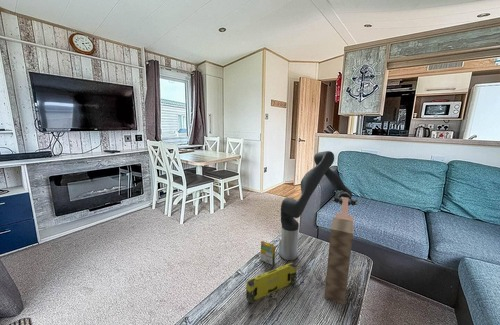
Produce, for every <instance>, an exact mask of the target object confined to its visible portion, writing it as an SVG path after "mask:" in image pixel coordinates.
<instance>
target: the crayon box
mask: <svg viewBox="0 0 500 325" xmlns="http://www.w3.org/2000/svg"><path fill="white" fill-rule="evenodd" d="M259 259H260V261H262V262H265V263H267V264H270V265H271V266H273V264H274V263H275V261H276V245H275V244H274V243H273V244H272V243H270V242H267V241H263V240H260V258H259Z"/></svg>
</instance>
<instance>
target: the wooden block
mask: <svg viewBox="0 0 500 325" xmlns="http://www.w3.org/2000/svg"><path fill="white" fill-rule="evenodd" d="M329 233H330V234H329V245H328V255H327V266H326V274H325V275H326V276H325V277H326V278H325V287H324V295H323V296H324V298H323V299H327V300H329V301H331V302H335V303H338V304H341V305H344V306H345V305H346V296H347V290H348V289H347V288H348V279H349V272H350V271H349V270H350V260H351V255H352V254H351V252H352V244H353V239H352V237H353V238H354V220H353V221H350V220H345V219H340V218H336V217H332V221H331V227H330V232H329Z"/></svg>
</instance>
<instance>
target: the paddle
mask: <svg viewBox="0 0 500 325" xmlns="http://www.w3.org/2000/svg"><path fill="white" fill-rule="evenodd" d="M340 210H341V211H340V212H341V213H337V212H336V213H335V218H340V219H345V220H350V221H353V222H354V216H353V215H349V206H348V198H346V197H342V205H341V209H340ZM353 238H354V236H353V237H352V240H353Z"/></svg>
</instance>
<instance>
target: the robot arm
mask: <svg viewBox="0 0 500 325" xmlns="http://www.w3.org/2000/svg"><path fill="white" fill-rule="evenodd" d="M313 161H314V163H315V165H316V166H314V167H313V168H311V169H310V170H308V171H307V172H306V173H305V174H304V176H303V177H302V179H301V181H300V191H301V193H300V197H299V199H298V200H296V199H294V198H290V197H285V198H284V199H283V200H282V202H281V203H280V204H281V205H280V223H281V232H280V234H281V235H280V238H279V243H278V255H279V256H280V257H281V258H282V259H284V260H285V261H294V260H296V259H297V258H298V257H297V256H298V243H299V231H300V230H299V227H300V225H299V222H298V220H296V219H298V218H301V216H302V214H303V213H304V210H305V209H306V207H307V205H308V202H309V200H310V199H311V196H312V195H313V194H314V192H315V190H316V189H317V187H318V185H319V184H320V182H321V181H322V179H323V177H324V176H325V177H326V178H327V179H328V181H329V182H330V185H331V186H332V188H333V189H334V190H335V191H336V192H335V195H334V196H332V201H333V202H334V203H337V204H339V205H341V206H342V197H346V198H348V207H350V206H357V205H358V200H357V199H352V197H353V193H352V191H351V189H349V188H348V187H347V186H346V185H345V183H344V181H343V180H342V177H340V176H339V175H338V174H337V173H336V172H335V171H333V170H332V169H331V168H330V167H331V166H333V164H334V162H335V155H334V153H333V152H332V151H330V150H325V151H320V152H316V153H315V154H314V156H313Z"/></svg>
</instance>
